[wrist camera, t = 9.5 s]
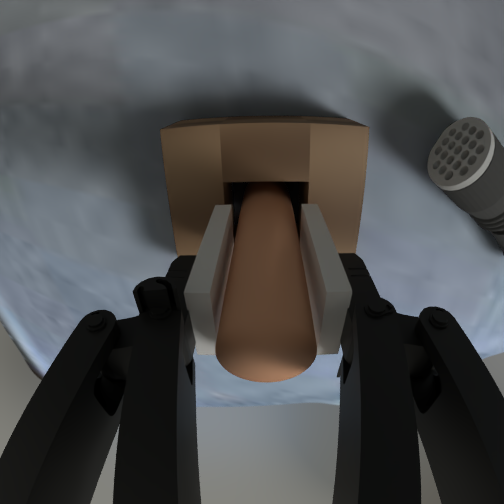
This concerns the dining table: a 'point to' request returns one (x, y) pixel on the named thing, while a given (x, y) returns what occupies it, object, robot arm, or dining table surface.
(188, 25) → the dining table surface
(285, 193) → the peg
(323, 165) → the socket block
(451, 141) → the flashlight
